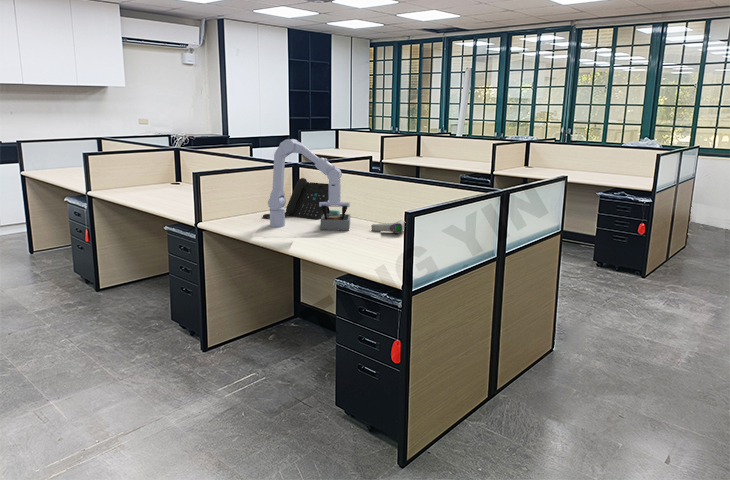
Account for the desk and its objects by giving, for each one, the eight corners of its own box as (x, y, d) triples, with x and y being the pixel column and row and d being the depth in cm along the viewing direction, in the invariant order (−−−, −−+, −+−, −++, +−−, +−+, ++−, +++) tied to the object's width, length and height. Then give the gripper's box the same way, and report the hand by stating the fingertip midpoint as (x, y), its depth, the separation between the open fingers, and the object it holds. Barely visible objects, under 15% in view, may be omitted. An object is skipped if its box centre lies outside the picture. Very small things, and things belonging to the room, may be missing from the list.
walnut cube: (327, 227, 266) (326, 217, 264) (334, 225, 269) (333, 215, 268) (335, 227, 262) (334, 217, 261) (342, 226, 266) (341, 216, 265)
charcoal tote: (323, 223, 278) (323, 213, 277) (350, 224, 278) (350, 214, 277) (320, 230, 261) (320, 219, 260) (349, 230, 261) (349, 220, 260)
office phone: (259, 218, 292) (258, 180, 287) (289, 211, 317) (289, 176, 312) (306, 223, 279) (305, 184, 275) (333, 215, 304) (333, 179, 300)
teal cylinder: (328, 224, 272) (327, 210, 271) (335, 223, 276) (335, 209, 274) (334, 225, 269) (333, 211, 267) (342, 224, 272) (341, 210, 270)
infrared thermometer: (370, 223, 260) (401, 223, 256) (376, 219, 271) (406, 219, 267) (371, 233, 261) (402, 233, 257) (377, 228, 272) (407, 228, 268)
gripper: (318, 194, 258) (318, 222, 261) (349, 194, 258) (349, 223, 261) (319, 192, 265) (320, 220, 268) (349, 192, 265) (349, 220, 268)
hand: (334, 221), depth 265 cm, fingers closed on walnut cube, 7 cm apart
